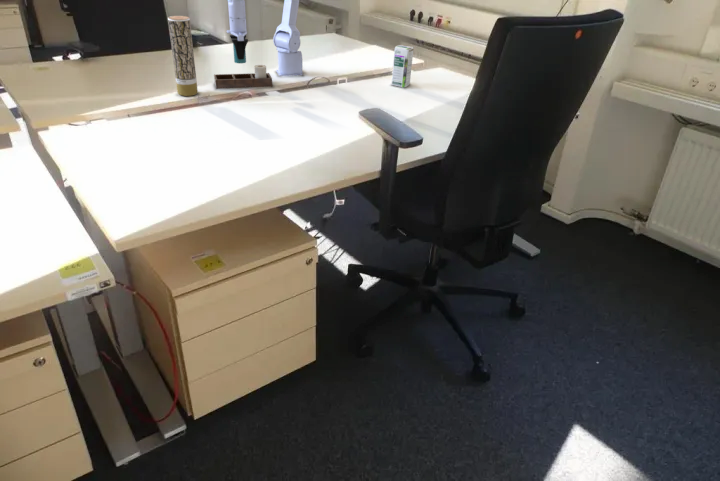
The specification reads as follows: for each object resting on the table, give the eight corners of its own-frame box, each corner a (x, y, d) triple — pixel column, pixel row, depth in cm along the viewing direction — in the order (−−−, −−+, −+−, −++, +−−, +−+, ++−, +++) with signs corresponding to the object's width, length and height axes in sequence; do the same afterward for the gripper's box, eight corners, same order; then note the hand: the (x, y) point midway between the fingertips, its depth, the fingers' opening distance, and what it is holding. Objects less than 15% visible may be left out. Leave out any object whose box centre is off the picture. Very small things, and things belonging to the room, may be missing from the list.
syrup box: (390, 85, 209) (394, 46, 201) (397, 82, 213) (400, 44, 206) (404, 88, 207) (408, 49, 199) (410, 84, 211) (414, 46, 204)
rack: (269, 82, 204) (268, 72, 202) (272, 87, 198) (272, 78, 197) (214, 84, 199) (213, 74, 197) (216, 89, 193) (215, 80, 191)
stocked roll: (265, 82, 202) (265, 64, 199) (267, 85, 199) (266, 67, 195) (254, 82, 201) (253, 64, 198) (256, 85, 198) (255, 67, 194)
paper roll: (245, 60, 198) (244, 41, 194) (246, 63, 194) (245, 44, 191) (233, 60, 197) (232, 42, 193) (235, 63, 193) (233, 44, 190)
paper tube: (192, 97, 184) (183, 20, 171) (174, 95, 185) (163, 18, 172) (201, 92, 190) (193, 16, 176) (183, 90, 191) (174, 15, 177)
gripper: (223, 13, 192) (226, 52, 199) (227, 21, 181) (230, 62, 188) (243, 13, 194) (246, 52, 201) (248, 21, 182) (251, 62, 190)
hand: (240, 57), depth 195 cm, fingers closed on paper roll, 4 cm apart
